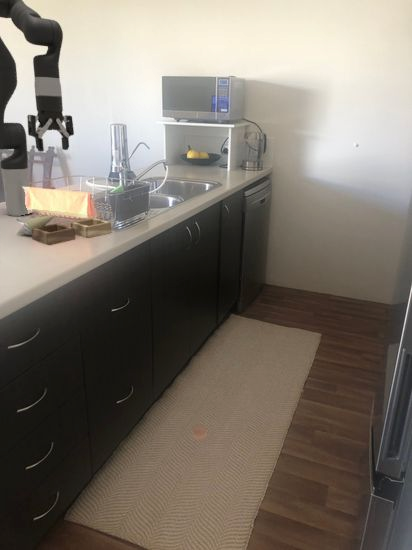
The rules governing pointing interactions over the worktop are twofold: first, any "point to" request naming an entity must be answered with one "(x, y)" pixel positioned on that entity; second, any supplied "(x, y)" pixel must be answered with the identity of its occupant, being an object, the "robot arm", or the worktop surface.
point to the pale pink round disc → (199, 432)
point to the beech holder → (91, 227)
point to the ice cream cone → (34, 224)
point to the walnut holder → (53, 233)
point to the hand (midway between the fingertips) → (53, 150)
